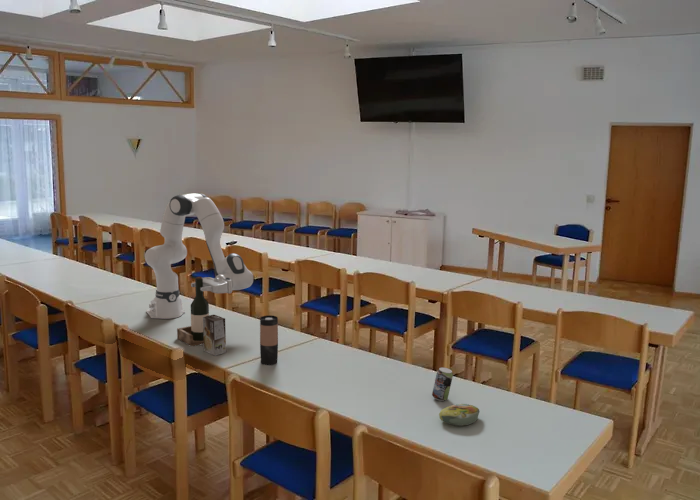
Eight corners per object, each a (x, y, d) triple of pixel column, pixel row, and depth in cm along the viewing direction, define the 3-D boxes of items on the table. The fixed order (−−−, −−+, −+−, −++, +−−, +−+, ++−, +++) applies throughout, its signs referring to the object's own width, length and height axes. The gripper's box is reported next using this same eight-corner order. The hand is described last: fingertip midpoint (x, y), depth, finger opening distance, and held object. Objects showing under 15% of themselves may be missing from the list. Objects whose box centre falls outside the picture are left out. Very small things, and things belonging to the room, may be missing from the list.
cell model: (431, 412, 216) (464, 390, 221) (440, 431, 217) (472, 409, 222) (447, 418, 206) (481, 395, 211) (456, 438, 207) (490, 415, 212)
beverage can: (430, 395, 235) (431, 366, 233) (449, 395, 236) (450, 365, 234) (433, 402, 229) (435, 372, 227) (453, 402, 230) (454, 372, 227)
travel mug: (280, 360, 269) (280, 316, 265) (273, 366, 262) (273, 321, 258) (265, 358, 271) (264, 314, 268) (257, 364, 264) (256, 319, 260)
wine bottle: (213, 337, 296) (211, 276, 291) (201, 342, 289) (199, 279, 283) (199, 334, 300) (198, 274, 294) (187, 339, 292) (186, 277, 287)
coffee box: (226, 352, 277) (226, 318, 274) (214, 356, 273) (214, 321, 270) (214, 347, 283) (214, 314, 280) (203, 350, 279) (202, 316, 276)
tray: (177, 338, 295) (177, 328, 294) (204, 332, 304) (204, 323, 303) (191, 346, 284) (190, 336, 283) (219, 340, 293) (218, 330, 293)
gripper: (212, 273, 305) (186, 276, 296) (233, 280, 290) (206, 284, 281) (212, 285, 306) (186, 289, 297) (233, 293, 291) (206, 298, 282)
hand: (196, 287), depth 289 cm, fingers open, 8 cm apart
